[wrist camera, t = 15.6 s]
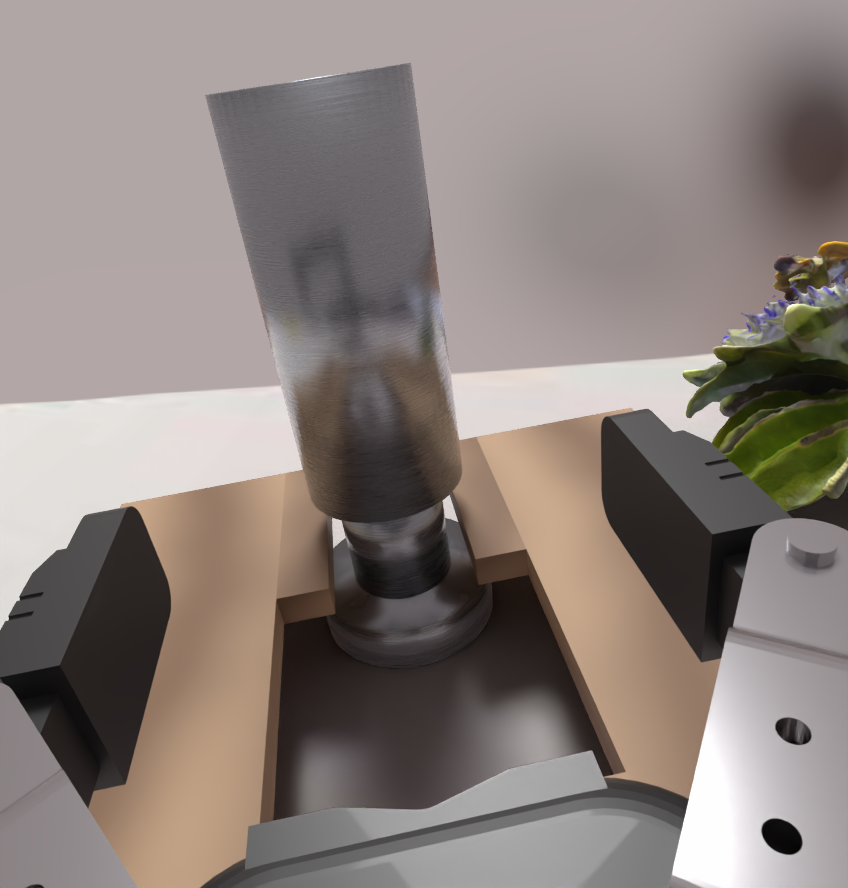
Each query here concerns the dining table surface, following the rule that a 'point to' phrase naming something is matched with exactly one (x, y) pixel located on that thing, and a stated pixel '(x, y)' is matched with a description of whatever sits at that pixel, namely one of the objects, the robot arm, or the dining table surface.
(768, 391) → the passion flower
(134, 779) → the keyhole plate
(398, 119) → the keyhole post
